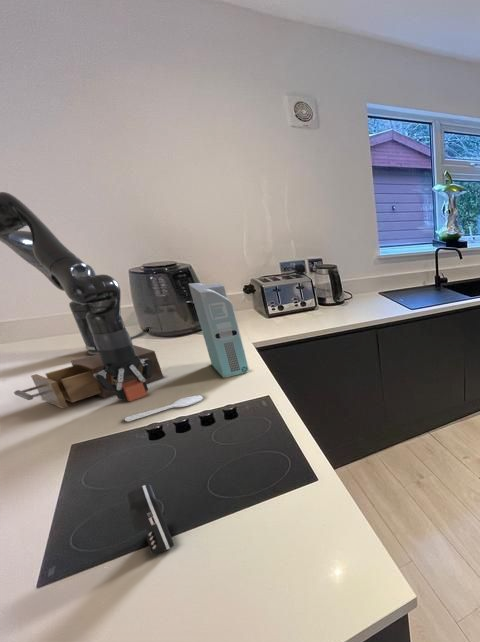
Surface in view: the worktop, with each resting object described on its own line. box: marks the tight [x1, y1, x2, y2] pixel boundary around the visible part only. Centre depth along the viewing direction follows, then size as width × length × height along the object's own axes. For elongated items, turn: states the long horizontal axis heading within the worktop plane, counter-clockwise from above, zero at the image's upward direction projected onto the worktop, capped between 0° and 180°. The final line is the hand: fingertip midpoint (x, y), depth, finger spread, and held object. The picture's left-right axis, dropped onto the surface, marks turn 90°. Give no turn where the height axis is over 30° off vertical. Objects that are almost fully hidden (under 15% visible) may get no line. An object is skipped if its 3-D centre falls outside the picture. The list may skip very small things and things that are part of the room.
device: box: [188, 282, 250, 379], centre depth 138 cm, size 16×8×30 cm, turn 47°
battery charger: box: [124, 483, 175, 555], centre depth 71 cm, size 7×4×11 cm, turn 48°
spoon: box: [124, 394, 204, 422], centre depth 116 cm, size 5×18×1 cm, turn 141°
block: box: [122, 380, 148, 402], centre depth 122 cm, size 4×4×4 cm
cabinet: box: [70, 344, 164, 398], centre depth 129 cm, size 16×13×10 cm
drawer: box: [13, 365, 101, 409], centre depth 119 cm, size 20×12×8 cm, turn 157°
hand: (134, 395), depth 122 cm, fingers closed on block, 4 cm apart
